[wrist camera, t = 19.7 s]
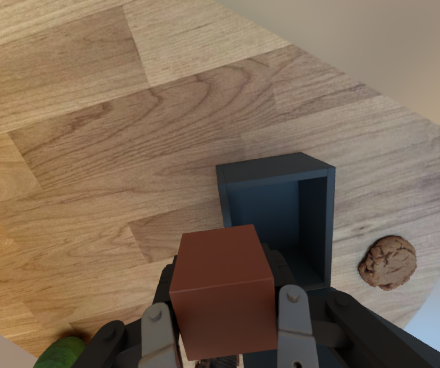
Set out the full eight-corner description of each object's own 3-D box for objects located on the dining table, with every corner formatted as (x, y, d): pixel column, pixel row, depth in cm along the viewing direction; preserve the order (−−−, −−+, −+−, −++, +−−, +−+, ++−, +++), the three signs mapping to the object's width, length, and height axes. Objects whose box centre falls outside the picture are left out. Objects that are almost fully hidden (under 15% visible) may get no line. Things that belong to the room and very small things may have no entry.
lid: (251, 436, 10) (273, 580, 9) (515, 397, 10) (567, 539, 9) (236, 300, 27) (242, 344, 26) (331, 286, 27) (342, 330, 26)
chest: (215, 165, 30) (217, 185, 22) (301, 152, 30) (335, 167, 22) (230, 257, 36) (236, 301, 27) (302, 246, 36) (330, 287, 27)
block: (182, 233, 13) (168, 292, 9) (253, 223, 13) (274, 277, 9) (194, 288, 15) (187, 362, 10) (257, 279, 15) (278, 349, 10)
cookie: (411, 229, 36) (429, 239, 33) (409, 275, 39) (424, 288, 36) (355, 243, 36) (367, 254, 33) (357, 287, 40) (369, 301, 37)
